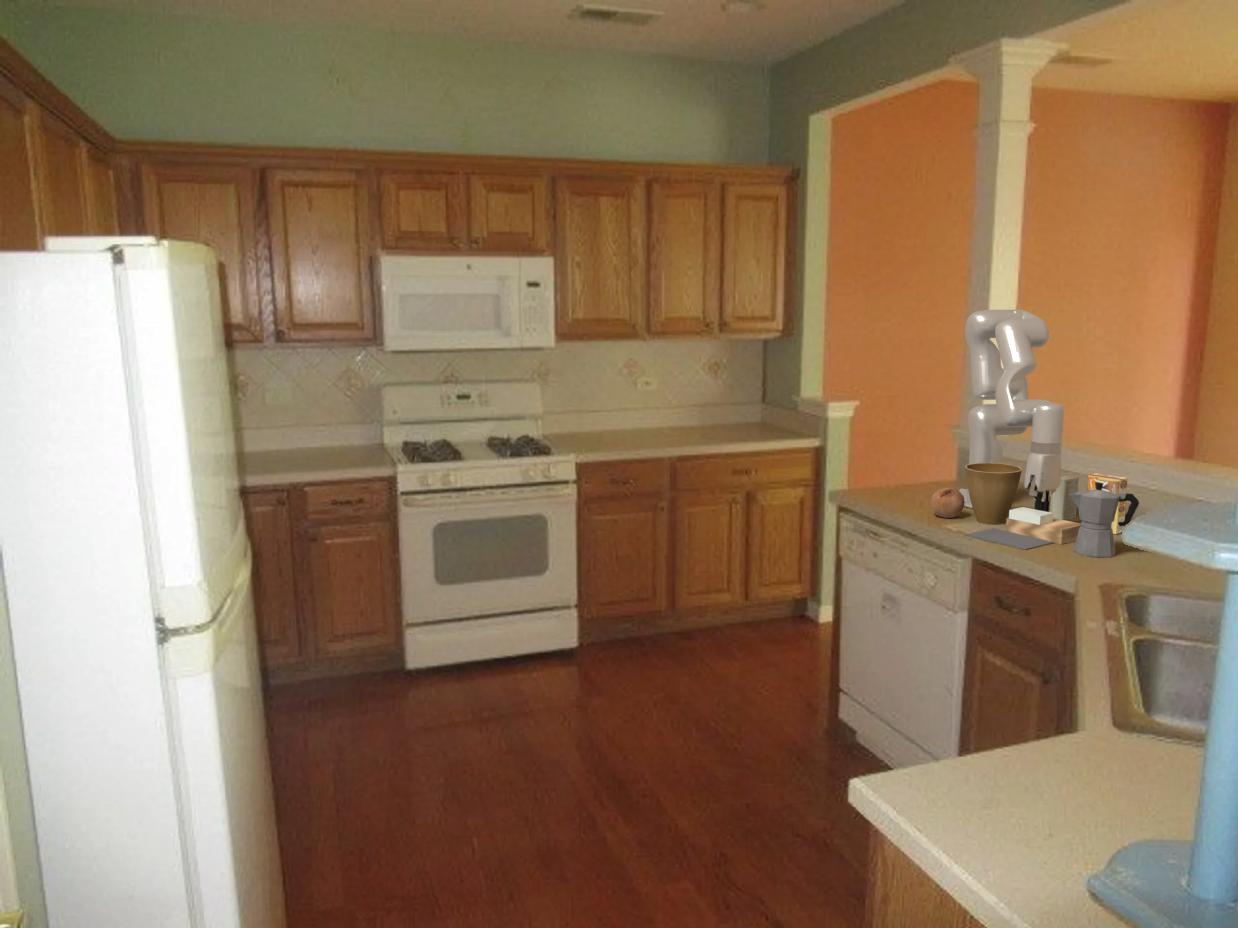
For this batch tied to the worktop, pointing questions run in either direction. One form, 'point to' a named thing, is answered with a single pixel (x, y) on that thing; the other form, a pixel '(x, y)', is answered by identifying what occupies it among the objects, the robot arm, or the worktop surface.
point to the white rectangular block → (1031, 515)
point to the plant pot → (992, 490)
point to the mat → (1009, 539)
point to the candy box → (1113, 486)
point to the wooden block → (1046, 530)
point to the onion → (947, 502)
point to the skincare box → (1064, 498)
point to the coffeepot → (1099, 520)
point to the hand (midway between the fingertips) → (1041, 514)
